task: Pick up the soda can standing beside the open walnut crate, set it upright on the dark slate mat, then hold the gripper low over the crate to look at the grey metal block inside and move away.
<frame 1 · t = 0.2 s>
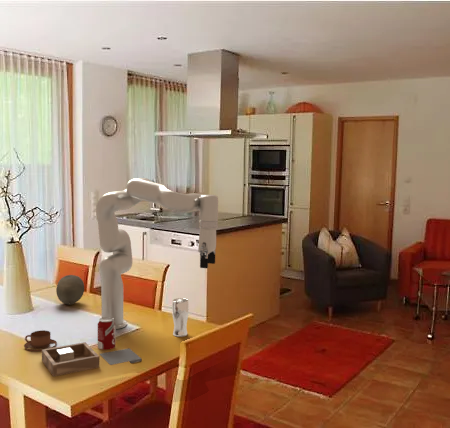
hand: (207, 265, 214), 31 cm above the table, tool pointing down, fingers open, 9 cm apart
cup and saucer: (40, 349, 202), on the table
soda can: (106, 349, 203), on the table
beer glass: (180, 334, 221), on the table
slate mat: (120, 358, 193), on the table
metal block: (65, 361, 187), point 1 cm above the table, touching walnut crate
walnut crate: (70, 366, 185), on the table
cantaloupe: (70, 305, 262), on the table
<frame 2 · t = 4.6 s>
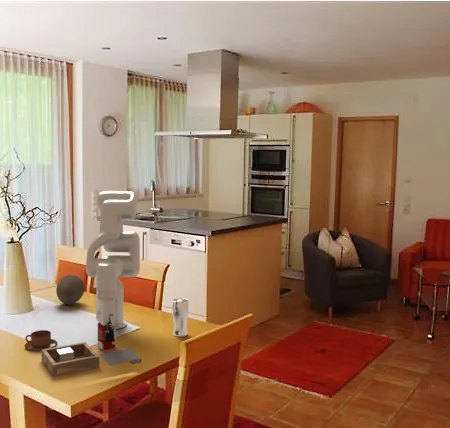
hand: (106, 338, 202), 4 cm above the table, tool pointing down, fingers closed on soda can, 6 cm apart
soda can: (106, 349, 203), on the table, touching gripper
everything else where it was.
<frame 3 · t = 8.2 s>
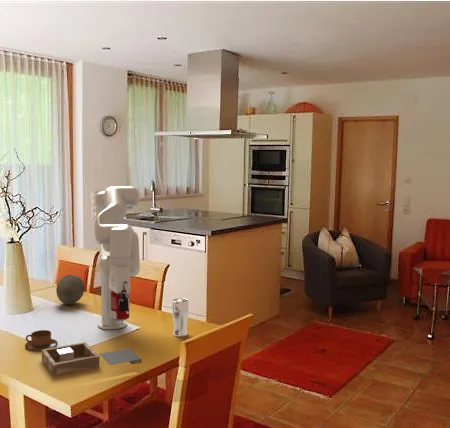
hand: (120, 308, 191), 19 cm above the table, tool pointing down, fingers closed on soda can, 6 cm apart
soda can: (120, 319, 191), point 15 cm above the table, touching gripper
everything else where it was.
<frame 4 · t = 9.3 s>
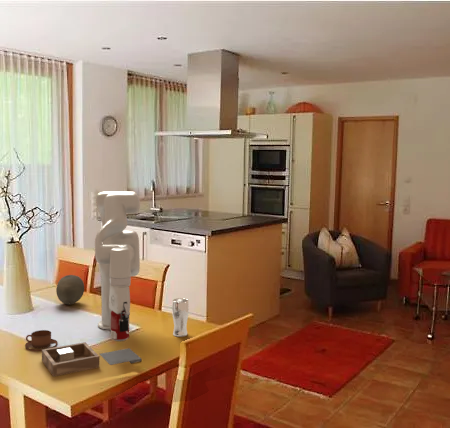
hand: (120, 327, 192), 12 cm above the table, tool pointing down, fingers closed on soda can, 6 cm apart
soda can: (120, 339, 192), point 8 cm above the table, touching gripper
everything else where it was.
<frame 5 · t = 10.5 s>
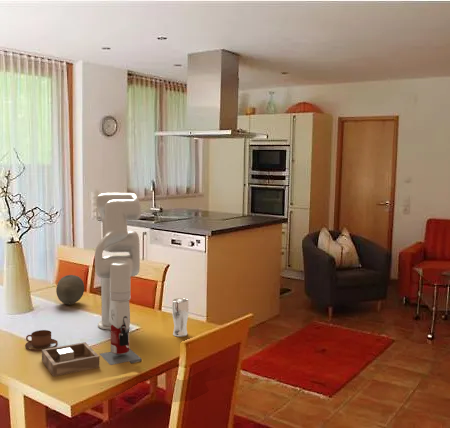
hand: (120, 341, 193), 7 cm above the table, tool pointing down, fingers closed on soda can, 6 cm apart
soda can: (120, 353, 193), point 2 cm above the table, touching gripper
everything else where it was.
when the fingers open (7 cm above the table, at t = 10.9 s): soda can drops 1 cm, resting on slate mat.
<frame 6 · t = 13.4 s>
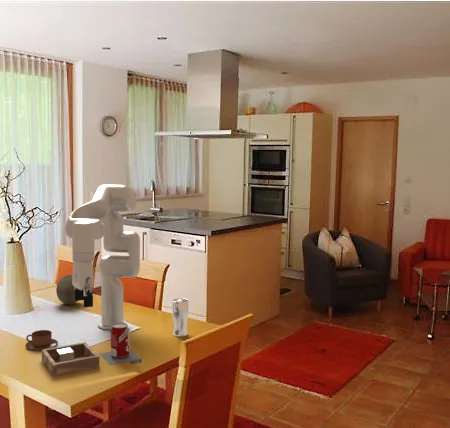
hand: (83, 303, 185), 23 cm above the table, tool pointing down, fingers open, 9 cm apart
soda can: (120, 356, 193), point 1 cm above the table, touching slate mat
everything else where it was.
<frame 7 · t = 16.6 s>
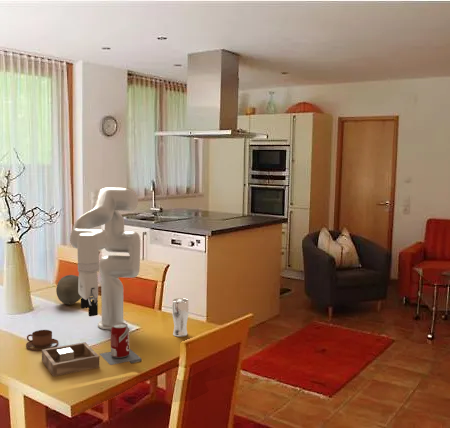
hand: (89, 311, 191), 18 cm above the table, tool pointing down, fingers open, 9 cm apart
nothing on the table moved.
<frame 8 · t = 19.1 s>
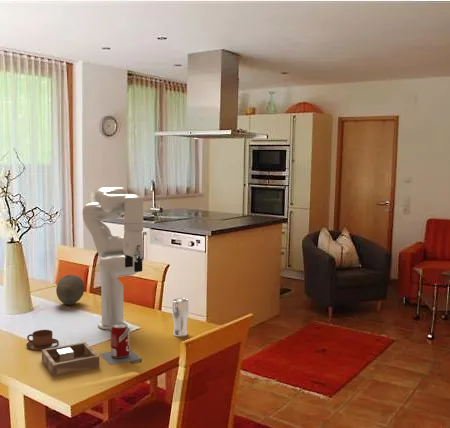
hand: (133, 269, 207), 30 cm above the table, tool pointing down, fingers open, 9 cm apart
nothing on the table moved.
at the end: soda can 0.1 cm off-centre on the slate mat, point 0.8 cm above the slate mat's base; soda can tilted 0°; metal block moved 0.0 cm from its start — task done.
